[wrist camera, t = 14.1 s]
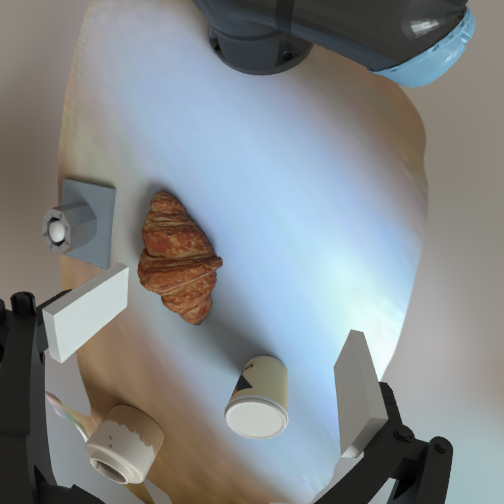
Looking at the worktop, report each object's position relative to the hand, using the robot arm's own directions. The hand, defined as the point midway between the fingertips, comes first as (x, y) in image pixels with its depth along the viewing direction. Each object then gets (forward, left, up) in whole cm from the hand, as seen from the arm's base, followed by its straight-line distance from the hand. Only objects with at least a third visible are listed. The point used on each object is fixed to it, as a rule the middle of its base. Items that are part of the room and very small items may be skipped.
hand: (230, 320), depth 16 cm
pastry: (+8, -13, -27) cm, 31 cm away
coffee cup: (+25, +5, -27) cm, 37 cm away
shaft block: (+7, -32, -27) cm, 42 cm away
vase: (+56, -20, -27) cm, 65 cm away
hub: (+7, -32, -26) cm, 41 cm away
